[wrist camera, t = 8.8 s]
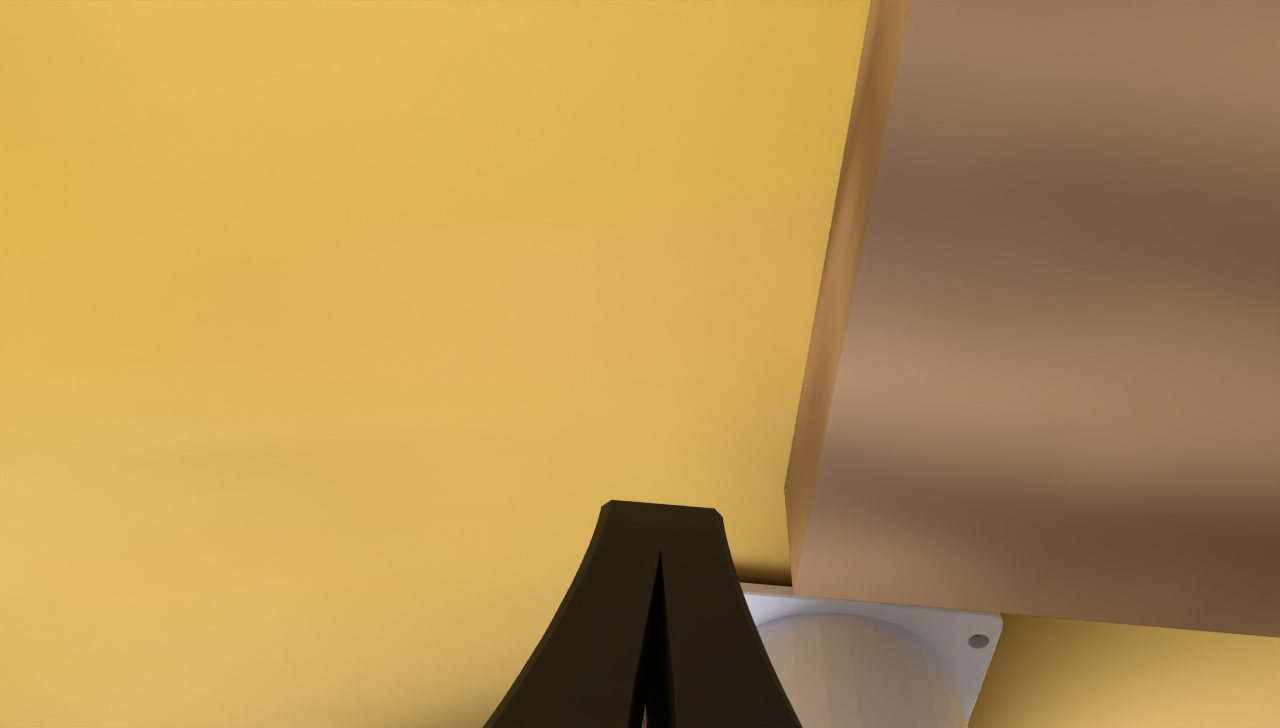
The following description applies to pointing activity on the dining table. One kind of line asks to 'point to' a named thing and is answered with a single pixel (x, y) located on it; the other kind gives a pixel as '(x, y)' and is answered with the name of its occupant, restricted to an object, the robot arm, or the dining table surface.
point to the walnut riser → (1052, 318)
